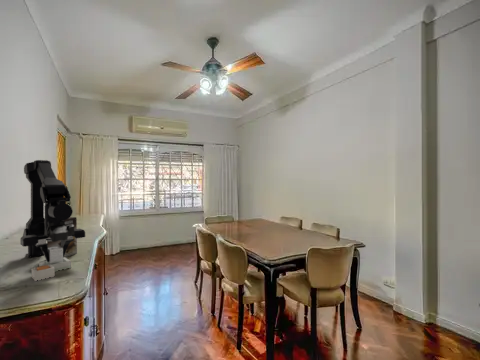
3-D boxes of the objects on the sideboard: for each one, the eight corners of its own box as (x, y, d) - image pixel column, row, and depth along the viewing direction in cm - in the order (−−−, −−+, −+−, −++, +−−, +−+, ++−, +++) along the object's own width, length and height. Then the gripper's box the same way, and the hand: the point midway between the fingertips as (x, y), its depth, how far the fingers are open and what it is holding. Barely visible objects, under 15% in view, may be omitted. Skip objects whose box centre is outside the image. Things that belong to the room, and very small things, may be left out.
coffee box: (59, 259, 106) (59, 220, 106) (46, 258, 108) (45, 219, 107) (77, 253, 115) (77, 216, 115) (65, 252, 116) (64, 216, 116)
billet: (47, 264, 95) (46, 248, 95) (60, 261, 98) (59, 245, 98) (50, 266, 93) (49, 249, 93) (63, 263, 96) (62, 247, 96)
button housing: (31, 277, 87) (31, 268, 87) (50, 272, 91) (50, 264, 91) (35, 281, 83) (35, 271, 83) (54, 276, 87) (54, 267, 87)
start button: (36, 273, 87) (35, 267, 87) (47, 270, 89) (47, 264, 89) (38, 275, 85) (38, 269, 85) (50, 272, 87) (50, 266, 87)
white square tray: (39, 268, 95) (39, 262, 95) (64, 263, 101) (64, 256, 101) (44, 273, 90) (44, 266, 90) (71, 267, 96) (71, 261, 96)
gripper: (26, 223, 83) (27, 272, 83) (90, 216, 97) (90, 258, 97) (19, 220, 91) (20, 265, 91) (80, 214, 104) (80, 253, 105)
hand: (55, 260), depth 96 cm, fingers closed on billet, 4 cm apart
